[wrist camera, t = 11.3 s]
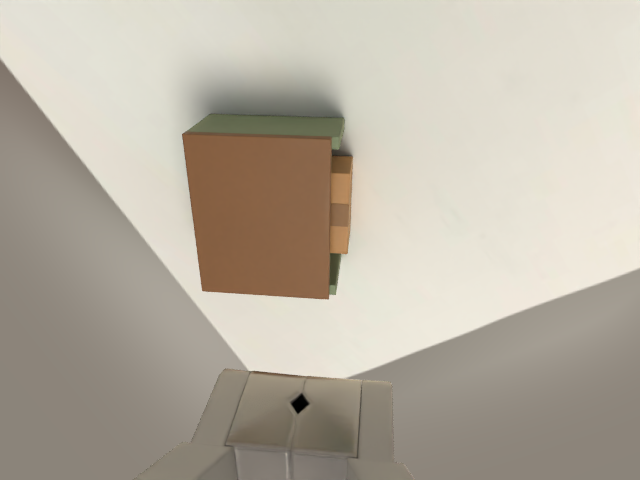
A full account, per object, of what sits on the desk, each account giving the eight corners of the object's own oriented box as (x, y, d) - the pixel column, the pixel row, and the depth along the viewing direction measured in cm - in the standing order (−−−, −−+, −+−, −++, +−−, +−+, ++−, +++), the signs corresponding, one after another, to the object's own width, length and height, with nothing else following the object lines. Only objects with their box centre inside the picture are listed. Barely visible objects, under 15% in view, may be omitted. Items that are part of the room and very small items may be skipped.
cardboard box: (352, 156, 38) (350, 173, 34) (350, 231, 41) (347, 254, 37) (258, 152, 38) (245, 169, 35) (262, 226, 41) (251, 249, 38)
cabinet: (344, 117, 36) (338, 139, 31) (340, 261, 42) (335, 300, 37) (209, 113, 37) (181, 134, 32) (223, 254, 43) (202, 291, 38)
